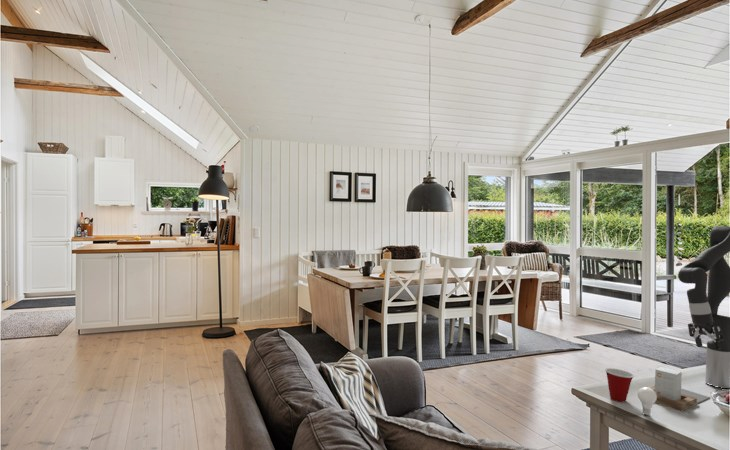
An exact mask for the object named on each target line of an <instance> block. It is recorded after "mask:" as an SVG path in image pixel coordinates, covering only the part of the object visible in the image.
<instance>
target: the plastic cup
mask: <svg viewBox="0 0 730 450" xmlns="http://www.w3.org/2000/svg"><path fill="white" fill-rule="evenodd" d="M605 372H606V374H605V375H606V378H607V385H608V387H607V388H608V390H609V391H608V393H609V397H610V399H611V400H612V401H615V402H620V403H625V402H626V401H627V398H628V395H629V390H630V387H631V383H632V381H633V379H634V378H635V374H634V373H631V372H629V371H626V370H622V369H618V368H611V367H609V368H608V367H606V368H605Z"/></svg>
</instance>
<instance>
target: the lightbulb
mask: <svg viewBox="0 0 730 450" xmlns="http://www.w3.org/2000/svg"><path fill="white" fill-rule="evenodd" d="M637 398H638V399H639V401H640V403H641V407H642V414H643V413H644V414H646V415H649V416H651V413H652V411H651V409H652V408H653V405H654V404H655V403H656V400H657V395H656V393H655V391H654V390H653V389H651V388H650V387H649V386H648V387H647V386H642V387H640V388H639V389H638V391H637ZM644 414H643V415H644ZM646 415H645V416H646Z"/></svg>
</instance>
